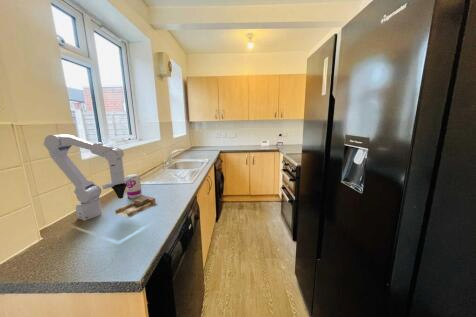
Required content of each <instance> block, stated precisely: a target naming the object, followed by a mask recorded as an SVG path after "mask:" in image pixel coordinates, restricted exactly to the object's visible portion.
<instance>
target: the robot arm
mask: <svg viewBox="0 0 476 317" xmlns="http://www.w3.org/2000/svg"><path fill="white" fill-rule="evenodd" d="M43 141H44V142H43V146H44V147H45V148H46V150H48V153H49V156H50V157H49V158H51V159H52V160H53V162H54V163H55V164H56V165H57V167H58V168H59V170H61V171H62V172H63V174H64V175H65V176H66V178H68V180H69V181H70V182H71V183H72V185H73V186H74V187H75V188H74V190H73V193H74V194H75V196H76V199H77V201H78V202H79V203H78V204H76V206H75V210H76V217H77V219H78V220H81V221H85V222H86V221H87V220H90V219H92V218H96V217H98V216H101V215H102V206H101V201H100V197H101V196H100V195H101V194H102V189H103V190H107V189H109V188H111V189H112V190H113V191H114V192H115V195H116V196H117V199H121V200H122V199H123V198H124V194H125V190H126V186H127V184H126V182H129V181H133V178H132V177H128V178H126V177H125V171H124V164H123V157H124V155H125V154H124V151H123V149H121V148H119V147H115V148H113V146H111V145H110V146H109V145H106V144H104V143H103V142H94V143H92V142H90V141H87V140H84V139H83V138H79V137H76V136H75V135H73V134H69V133H63V134H48V135H46V137H45V138H44V140H43ZM72 146H75V147H78V148H81V149H85V150H89V151H90V152H91V154H93V155H96V156H98V157H101V158H104V159H106V160H107V161H108V165H109V172H110V180H111V181H110V182H107V183H104V184H102V189H101V187H100V186H99V185H97V184H96V183H95V182H94V181H90V180H88V179H87V178H86V177H85V175H84V174H83V173H82V172H81V170H80V169H79V168H78V167H77V165H76V164H75V163H74V162H73V161H72V160H71V158H70V157H69V156H68V152H70V149H71V148H72Z"/></svg>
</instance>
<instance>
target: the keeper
mask: <svg viewBox="0 0 476 317" xmlns="http://www.w3.org/2000/svg"><path fill="white" fill-rule="evenodd" d="M133 202H134V206H137V207H141V206H143V205H145V204H147V203H149V198H144V197H140V198H135V199H133Z"/></svg>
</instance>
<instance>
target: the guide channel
mask: <svg viewBox="0 0 476 317" xmlns="http://www.w3.org/2000/svg"><path fill="white" fill-rule="evenodd" d="M141 197H144V198H149V203H147V204H145V205H143V206H141V207H137V206H134V201H132V202H131V203H128V204H126V205H123V206H121V207H119V208H116V209H115V210H114V212H112V214H114V215H119V216H122V217H126V218H131V217H133V216H135V215H137V214H139V213H141V212H143V211H146V210H148V209H149V208H152V207H153V206H155V205H157V204H158V203H157V202H156V198H155V197H151V196H150V197H149V196H145V195H142V196H141ZM139 198H140V197H139Z"/></svg>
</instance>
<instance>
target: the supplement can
mask: <svg viewBox="0 0 476 317" xmlns="http://www.w3.org/2000/svg"><path fill="white" fill-rule="evenodd" d="M128 177H132V178H133V181H129V182H126V183H125V184H127V186H126V188H125V190H126V196H127V199H131V200H135V199H138V198H139V197H141V196H143V195H142V194H143V193H142V185H141V178H140V175H139V174H138V173H131V174H127V175H125V178H128Z"/></svg>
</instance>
